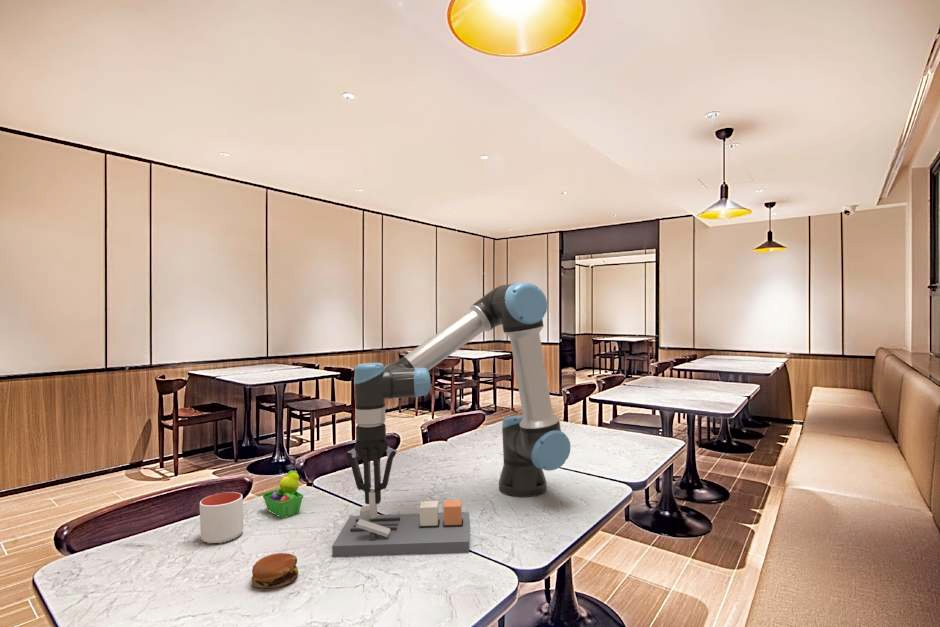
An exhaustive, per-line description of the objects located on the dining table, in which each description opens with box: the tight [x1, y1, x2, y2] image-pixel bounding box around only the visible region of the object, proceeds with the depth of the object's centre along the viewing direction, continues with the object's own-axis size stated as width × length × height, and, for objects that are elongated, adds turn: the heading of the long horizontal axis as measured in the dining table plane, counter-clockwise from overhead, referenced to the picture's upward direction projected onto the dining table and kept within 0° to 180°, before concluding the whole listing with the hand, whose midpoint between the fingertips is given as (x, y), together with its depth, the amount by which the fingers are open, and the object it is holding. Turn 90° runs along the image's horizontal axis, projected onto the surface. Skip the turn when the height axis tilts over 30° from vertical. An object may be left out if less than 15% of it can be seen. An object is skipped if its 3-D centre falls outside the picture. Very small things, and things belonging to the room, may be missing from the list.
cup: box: [199, 491, 244, 544], centre depth 132 cm, size 10×10×10 cm
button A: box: [443, 499, 463, 525], centre depth 130 cm, size 4×4×5 cm
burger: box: [251, 552, 299, 589], centre depth 109 cm, size 10×9×5 cm
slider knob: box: [359, 505, 372, 523], centre depth 130 cm, size 2×4×4 cm, turn 0°
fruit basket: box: [262, 469, 304, 519], centre depth 148 cm, size 11×9×11 cm
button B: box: [419, 500, 440, 526], centre depth 130 cm, size 4×4×5 cm
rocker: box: [356, 519, 390, 537], centre depth 123 cm, size 8×3×1 cm, turn 90°
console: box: [331, 511, 470, 558], centre depth 128 cm, size 32×18×4 cm, turn 90°
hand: (373, 516), depth 130 cm, fingers closed
